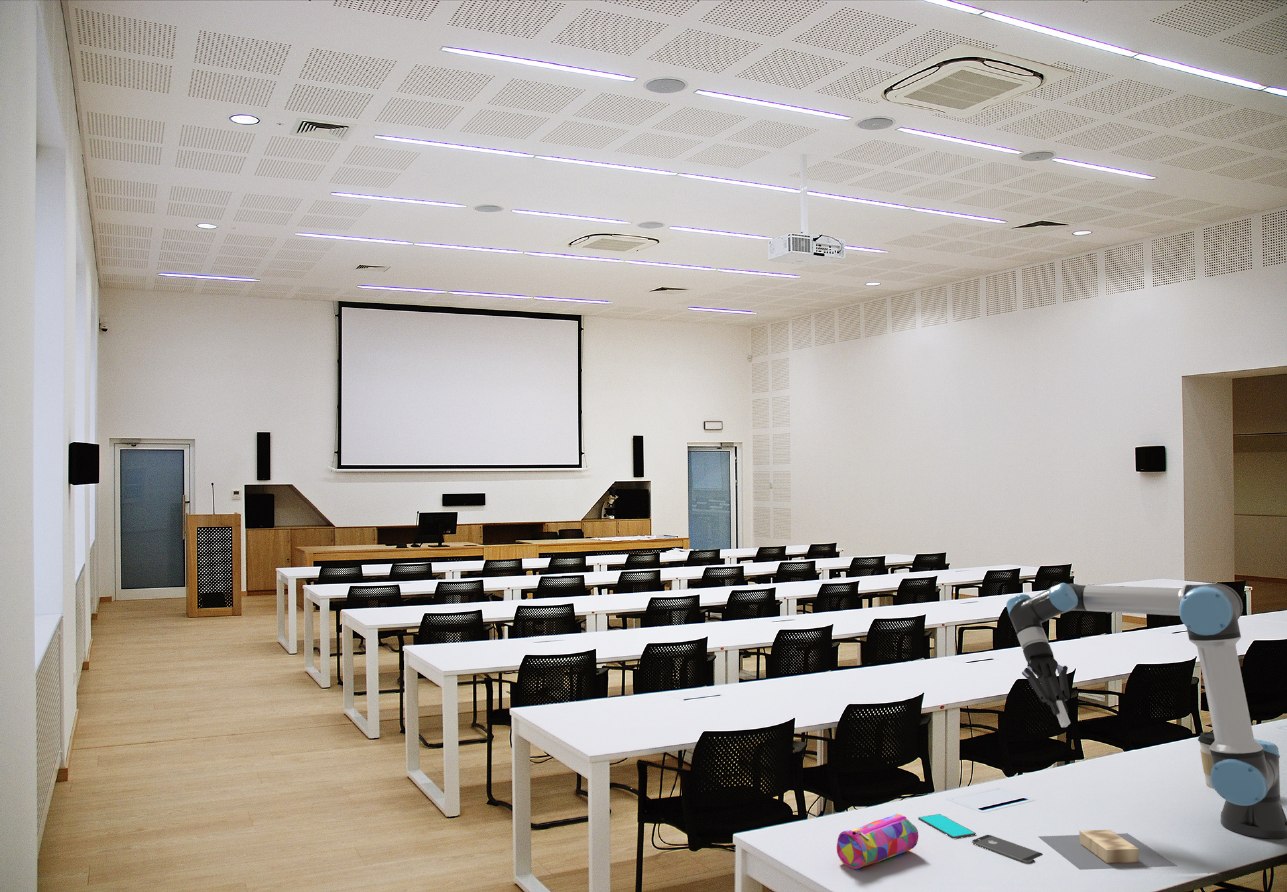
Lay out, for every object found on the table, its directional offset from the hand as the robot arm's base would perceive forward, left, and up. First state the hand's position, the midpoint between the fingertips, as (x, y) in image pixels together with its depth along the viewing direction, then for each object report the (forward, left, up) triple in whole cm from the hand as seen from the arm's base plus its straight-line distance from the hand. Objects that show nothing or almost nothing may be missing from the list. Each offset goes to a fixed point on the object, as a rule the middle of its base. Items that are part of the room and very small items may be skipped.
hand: (1065, 725), depth 251 cm
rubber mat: (+3, +22, -25) cm, 34 cm away
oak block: (+3, +18, -23) cm, 29 cm away
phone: (+26, +18, -26) cm, 41 cm away
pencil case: (+59, +21, -26) cm, 68 cm away
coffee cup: (-58, -22, -26) cm, 67 cm away
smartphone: (+35, +2, -26) cm, 43 cm away
